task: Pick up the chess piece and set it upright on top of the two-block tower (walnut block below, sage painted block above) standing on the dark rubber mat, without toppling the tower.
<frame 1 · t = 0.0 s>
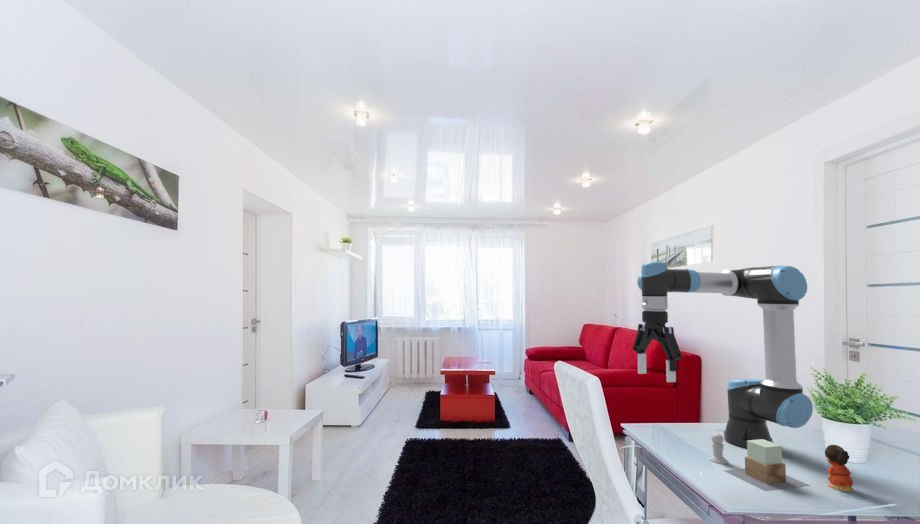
hand: (656, 377, 137), 28 cm above the table, fingers open, 13 cm apart
block top: (764, 460, 129), point 5 cm above the table, touching block bottom
mat: (765, 479, 128), on the table
block bottom: (765, 477, 128), resting on mat, touching block top
chess piece: (718, 462, 141), on the table
figurine: (840, 489, 122), on the table
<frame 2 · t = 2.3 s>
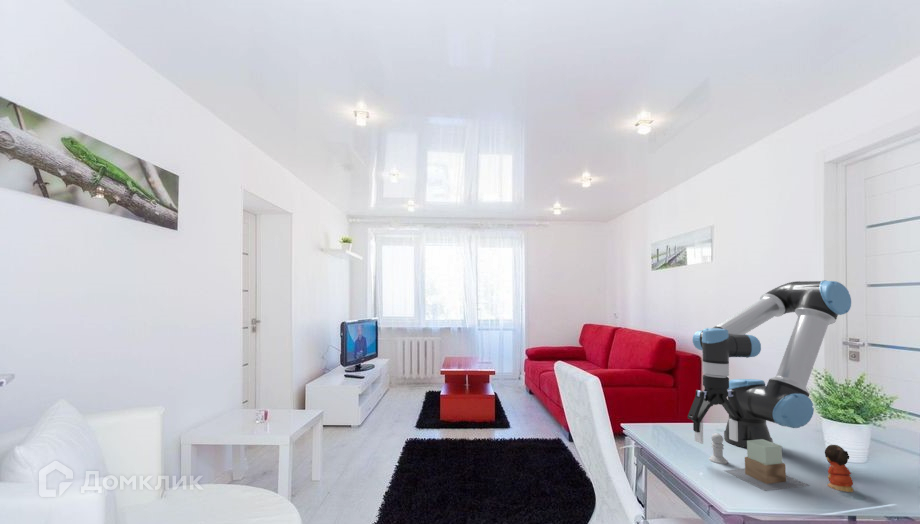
hand: (716, 441, 142), 7 cm above the table, fingers open, 13 cm apart
nothing on the table moved.
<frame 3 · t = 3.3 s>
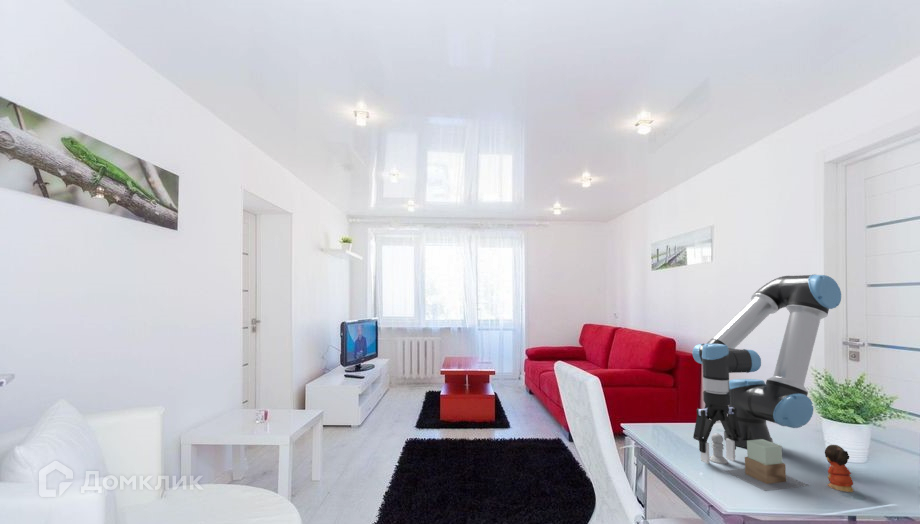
hand: (718, 461, 141), 0 cm above the table, fingers open, 9 cm apart
nothing on the table moved.
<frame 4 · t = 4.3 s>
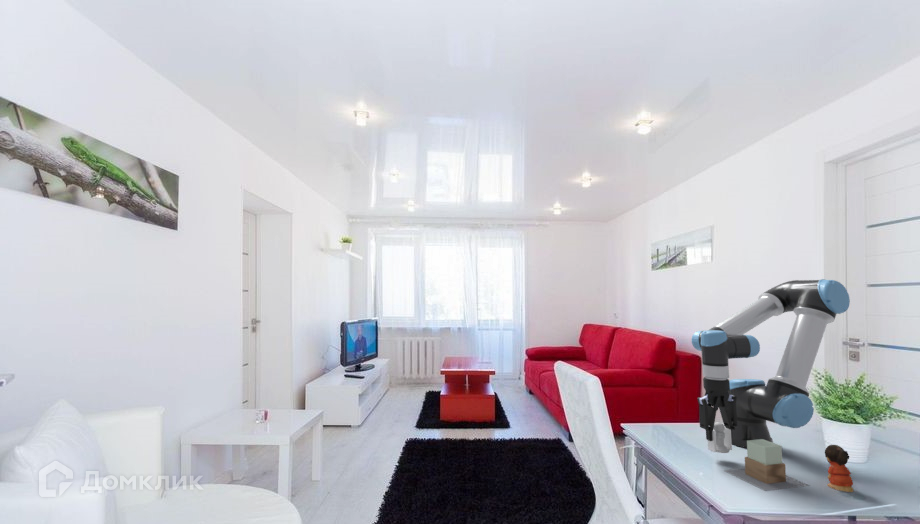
hand: (720, 449, 142), 4 cm above the table, fingers closed on chess piece, 5 cm apart
chess piece: (720, 451, 142), point 3 cm above the table, touching gripper
everything else where it was.
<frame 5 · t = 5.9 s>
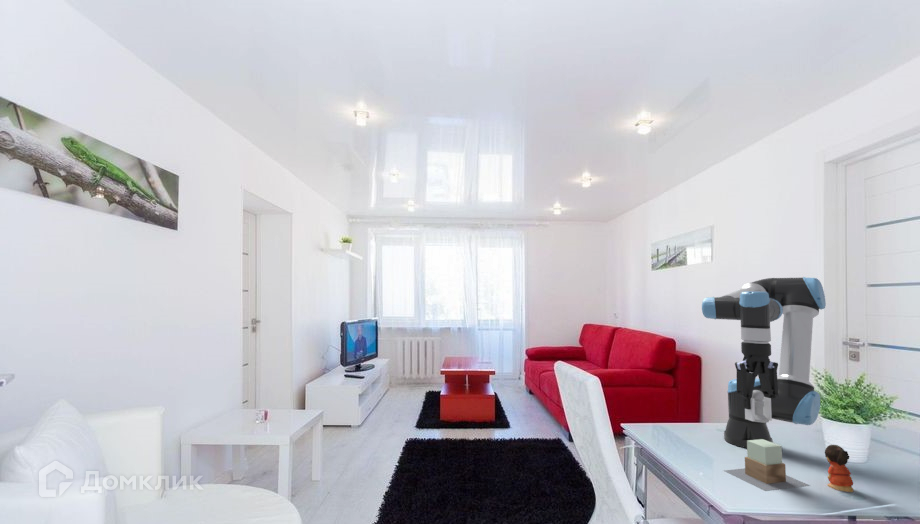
hand: (758, 419, 130), 17 cm above the table, fingers closed on chess piece, 5 cm apart
chess piece: (758, 421, 130), point 17 cm above the table, touching gripper
everything else where it was.
when the fingers open (11 cm above the table, at t = 7.6 s): chess piece stays where it is, resting on block top.
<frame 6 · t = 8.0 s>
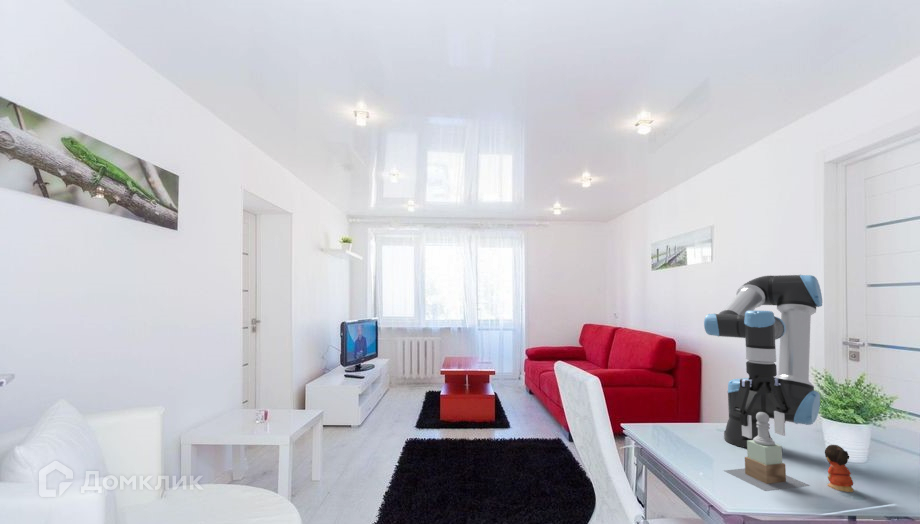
hand: (763, 435, 129), 13 cm above the table, fingers open, 11 cm apart
block top: (764, 460, 129), point 5 cm above the table, touching block bottom, chess piece
chess piece: (764, 443, 129), point 10 cm above the table, touching block top
everything else where it was.
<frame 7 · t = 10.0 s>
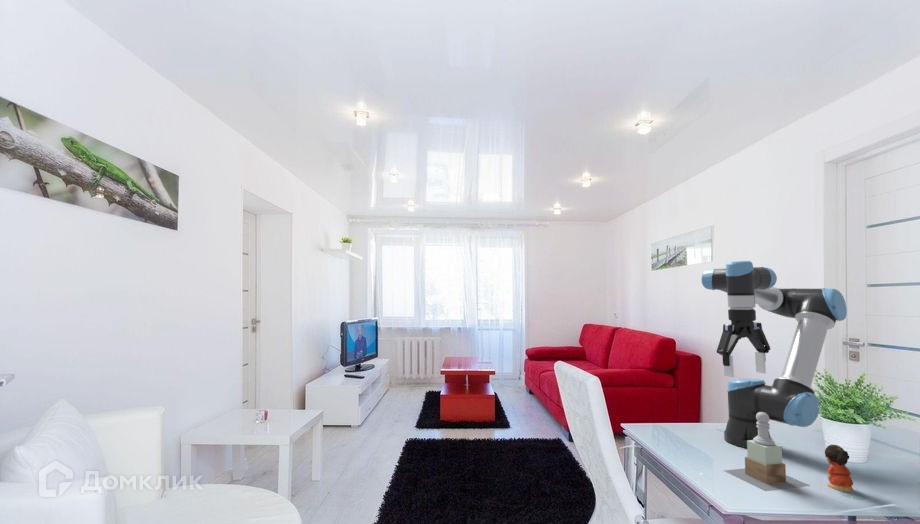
hand: (745, 374, 140), 29 cm above the table, fingers open, 13 cm apart
nothing on the table moved.
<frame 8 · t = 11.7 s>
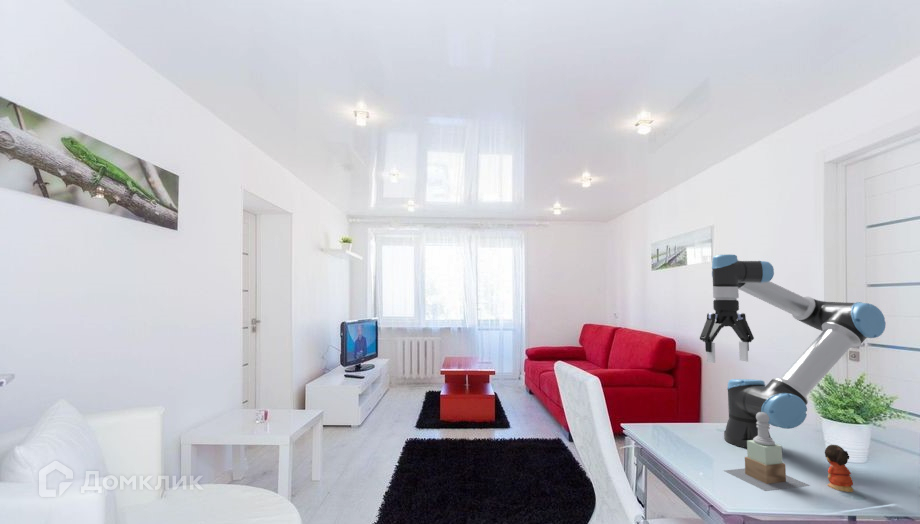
hand: (727, 361, 148), 32 cm above the table, fingers open, 13 cm apart
nothing on the table moved.
at the end: chess piece 0.0 cm off-centre on the block top, point 4.8 cm above the block top's base; chess piece tilted 0°; block top moved 0.0 cm from its start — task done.
